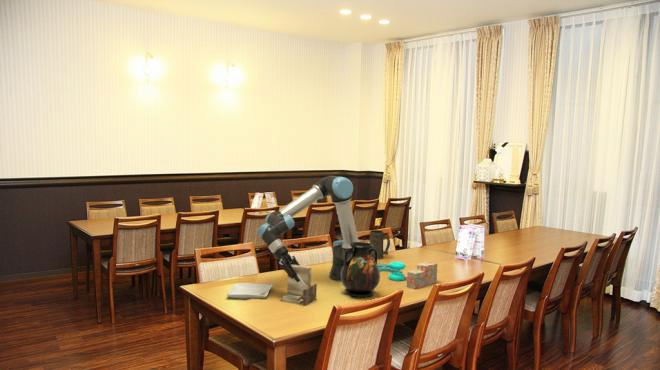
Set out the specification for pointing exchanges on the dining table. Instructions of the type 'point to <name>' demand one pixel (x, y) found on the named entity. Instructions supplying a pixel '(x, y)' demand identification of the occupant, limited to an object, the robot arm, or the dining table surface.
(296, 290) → the birch board
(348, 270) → the amphora vase
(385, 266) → the alien figure
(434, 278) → the stack of blocks
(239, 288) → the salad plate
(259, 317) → the dining table surface
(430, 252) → the dining table surface
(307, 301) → the walnut rack
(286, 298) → the offcut stack
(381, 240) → the beer stein
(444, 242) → the dining table surface
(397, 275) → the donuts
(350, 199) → the robot arm
